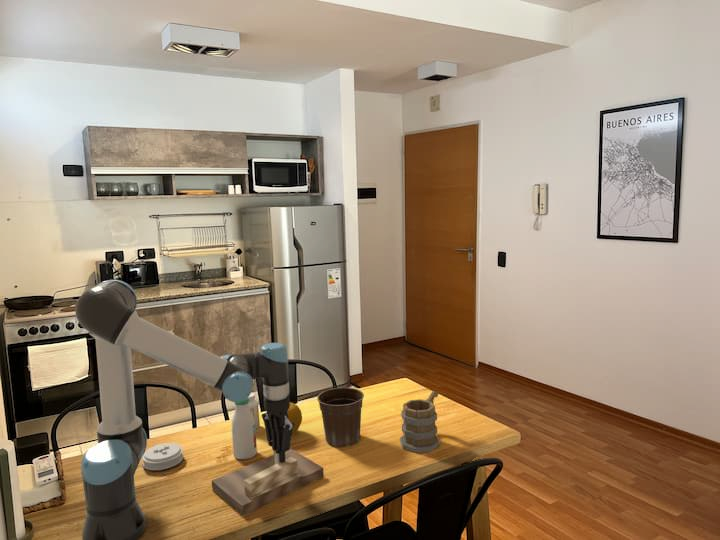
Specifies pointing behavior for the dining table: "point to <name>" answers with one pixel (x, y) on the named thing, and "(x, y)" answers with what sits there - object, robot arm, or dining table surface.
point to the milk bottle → (243, 431)
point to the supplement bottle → (254, 409)
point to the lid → (162, 456)
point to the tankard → (419, 425)
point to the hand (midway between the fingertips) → (280, 470)
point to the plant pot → (341, 415)
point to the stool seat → (234, 491)
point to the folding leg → (270, 476)
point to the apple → (294, 416)
